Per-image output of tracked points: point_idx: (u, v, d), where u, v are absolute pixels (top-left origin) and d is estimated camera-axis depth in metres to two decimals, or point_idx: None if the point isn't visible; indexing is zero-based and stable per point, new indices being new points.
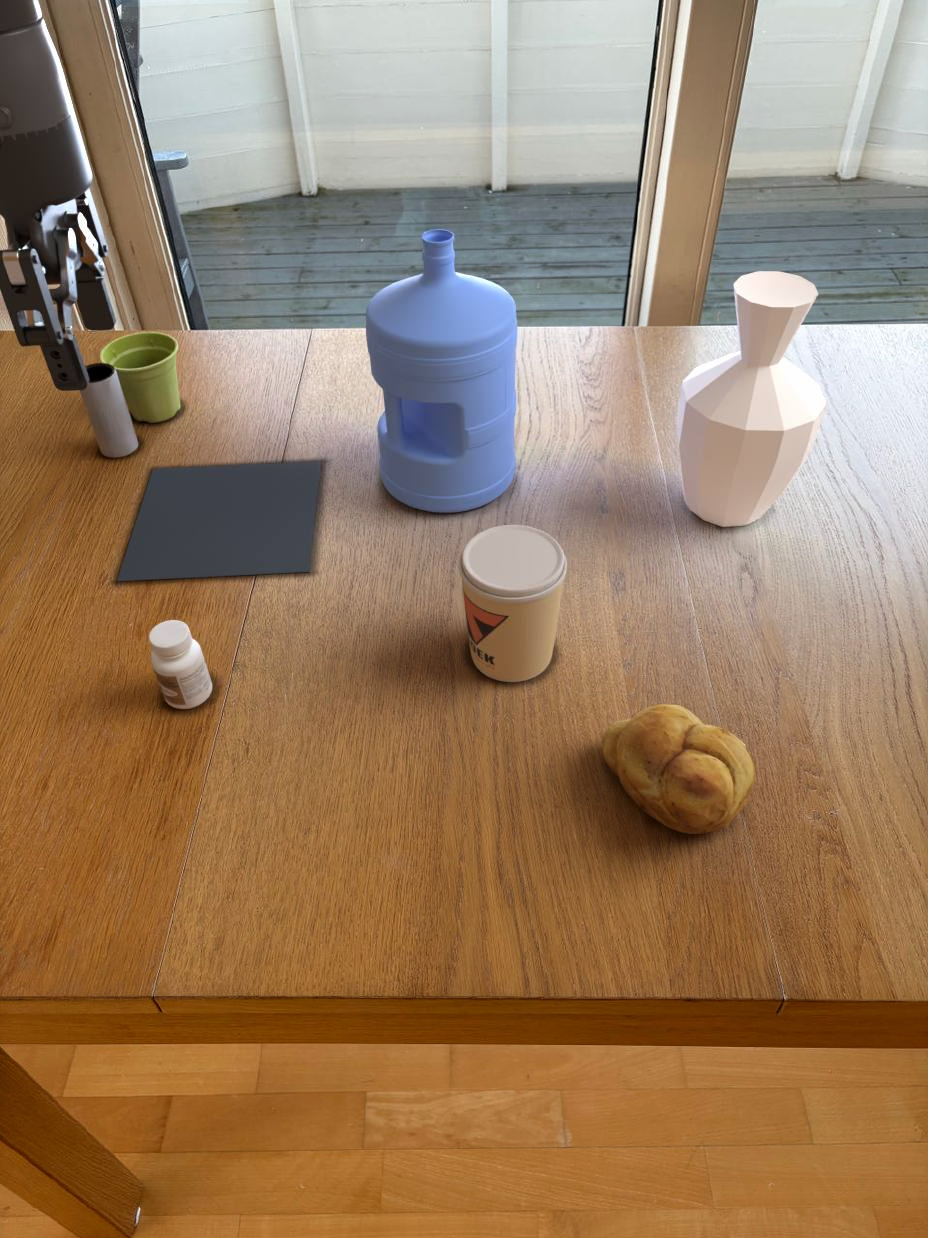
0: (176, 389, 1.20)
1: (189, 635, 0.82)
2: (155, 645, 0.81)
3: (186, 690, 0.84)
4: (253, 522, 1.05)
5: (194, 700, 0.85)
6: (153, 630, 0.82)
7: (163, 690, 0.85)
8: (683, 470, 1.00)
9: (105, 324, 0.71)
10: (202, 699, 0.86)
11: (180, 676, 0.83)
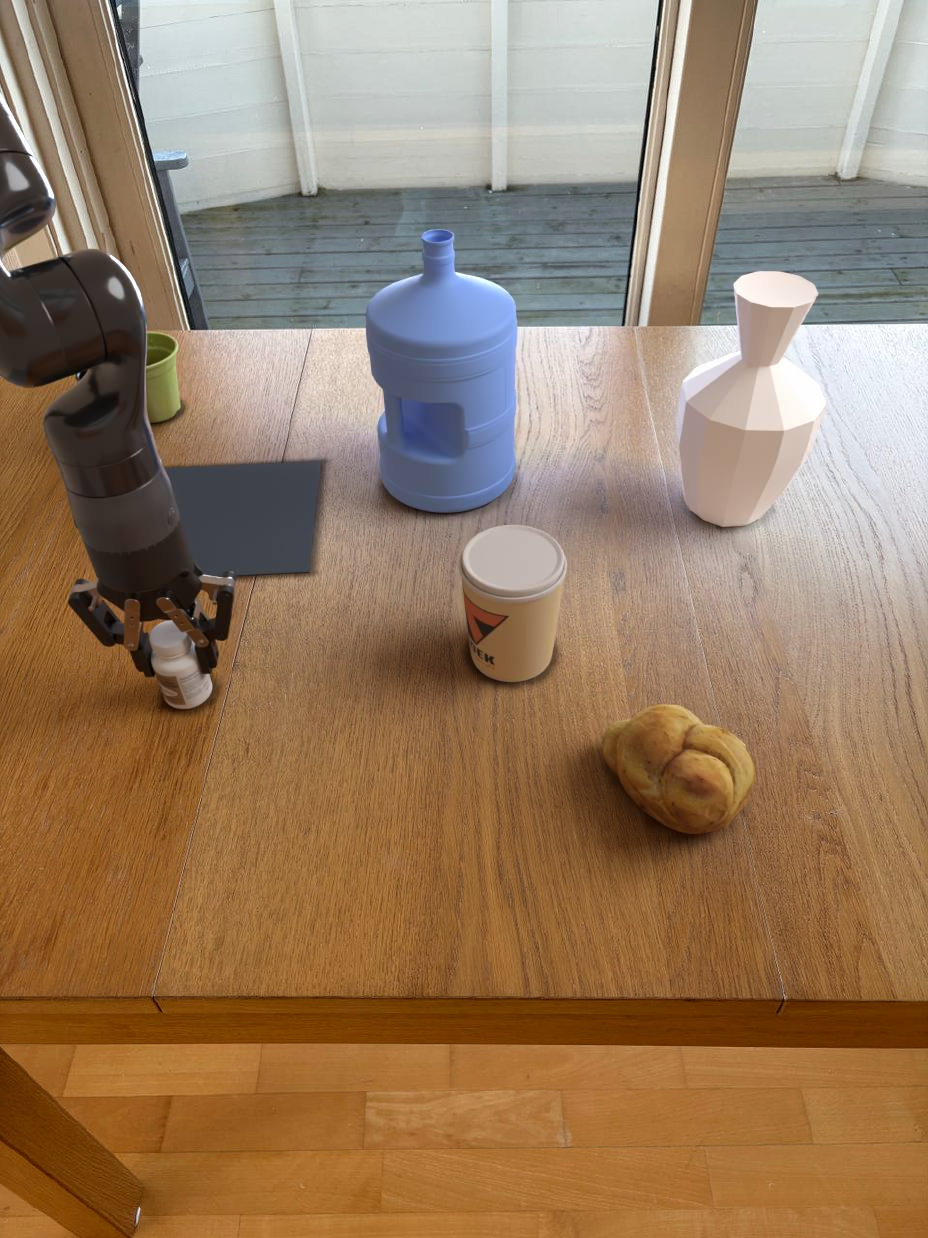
0: (176, 389, 1.20)
1: None
2: (155, 645, 0.81)
3: (186, 690, 0.84)
4: (253, 522, 1.05)
5: (194, 700, 0.85)
6: (153, 630, 0.82)
7: (163, 690, 0.85)
8: (683, 470, 1.00)
9: None
10: (202, 699, 0.86)
11: (180, 676, 0.83)
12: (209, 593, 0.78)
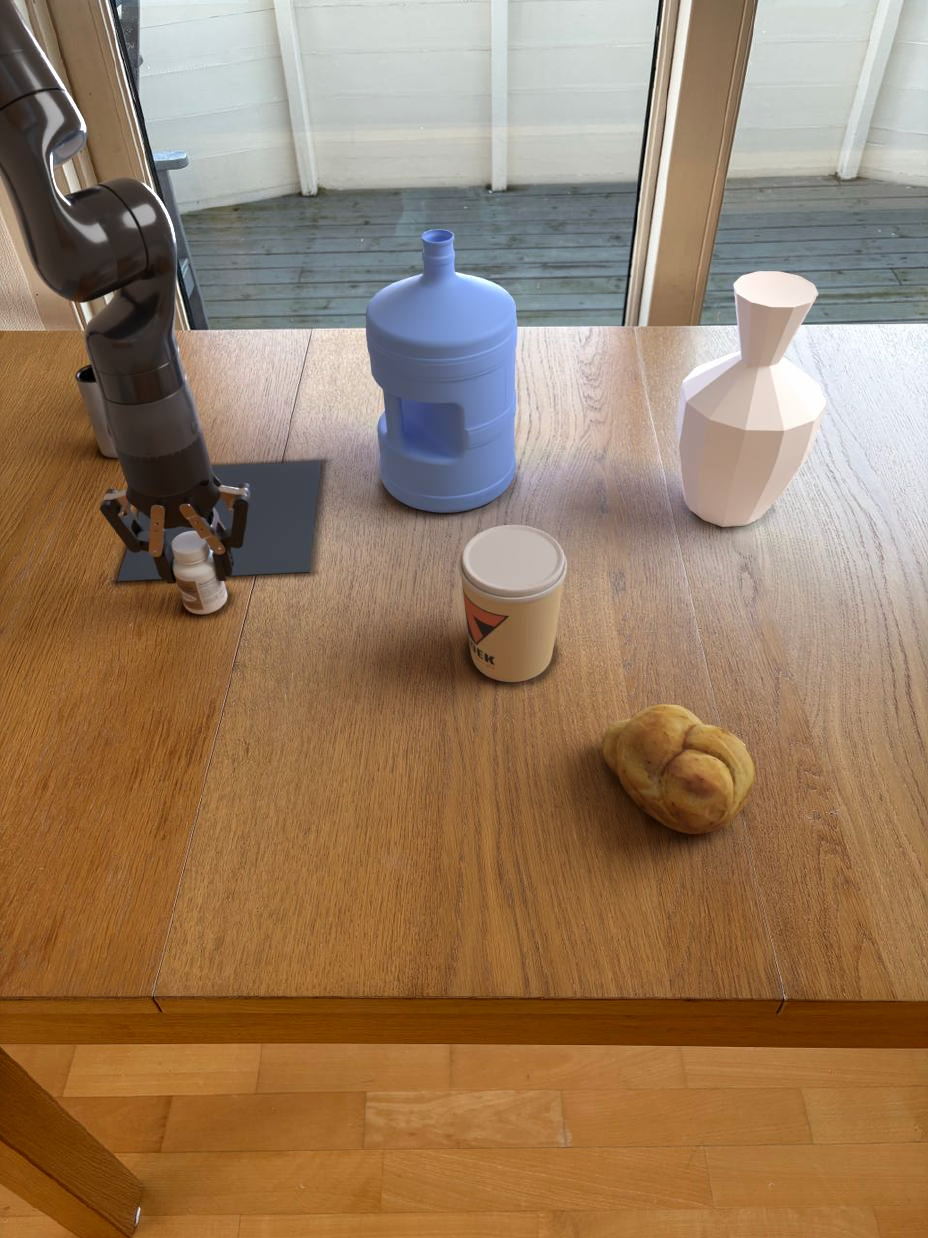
0: None
1: (207, 544, 0.91)
2: (177, 552, 0.90)
3: (204, 596, 0.93)
4: (253, 522, 1.05)
5: (211, 606, 0.94)
6: (175, 539, 0.91)
7: (183, 596, 0.93)
8: (683, 470, 1.00)
9: None
10: (218, 605, 0.94)
11: (199, 582, 0.91)
12: (226, 502, 0.87)
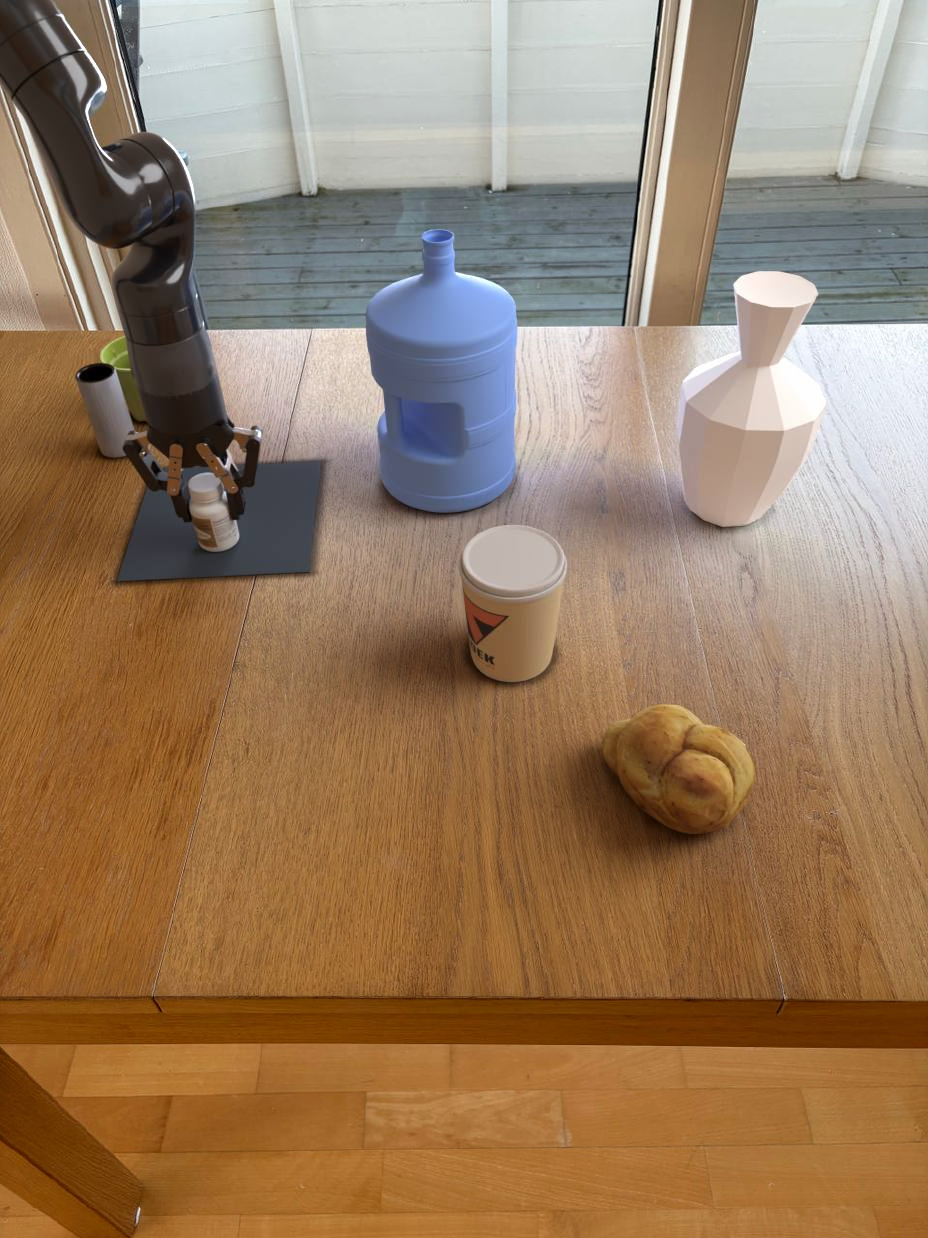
0: None
1: (221, 484, 0.98)
2: (193, 490, 0.96)
3: (218, 533, 0.99)
4: (253, 522, 1.05)
5: (224, 544, 1.01)
6: (191, 479, 0.98)
7: (198, 534, 1.00)
8: (683, 470, 1.00)
9: None
10: (231, 543, 1.01)
11: (213, 519, 0.98)
12: (240, 443, 0.94)
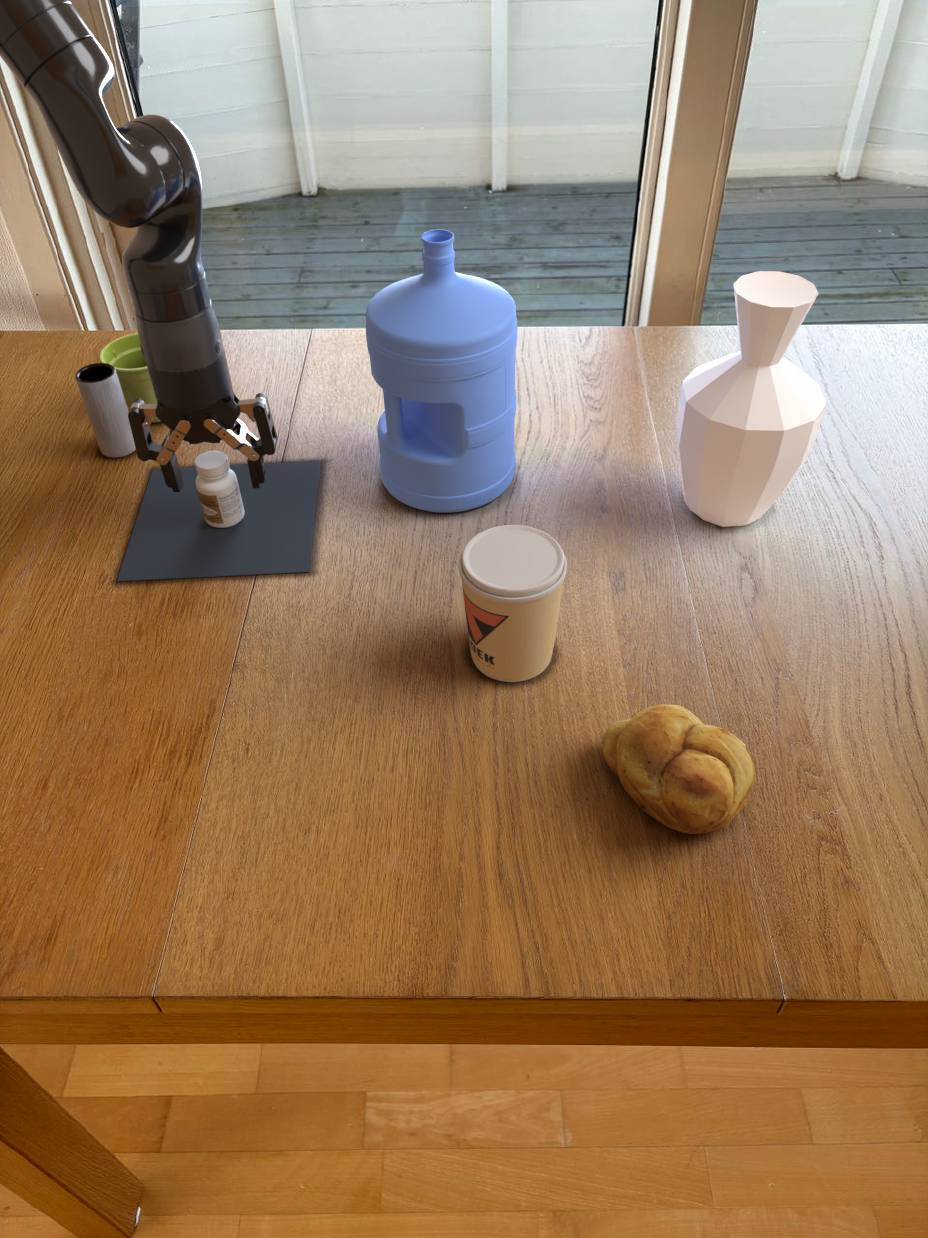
0: None
1: (227, 461, 1.01)
2: (200, 467, 0.99)
3: (224, 509, 1.02)
4: (253, 522, 1.05)
5: (230, 520, 1.04)
6: (198, 457, 1.01)
7: (205, 510, 1.03)
8: (683, 470, 1.00)
9: None
10: (236, 520, 1.04)
11: (220, 496, 1.01)
12: (248, 414, 0.96)
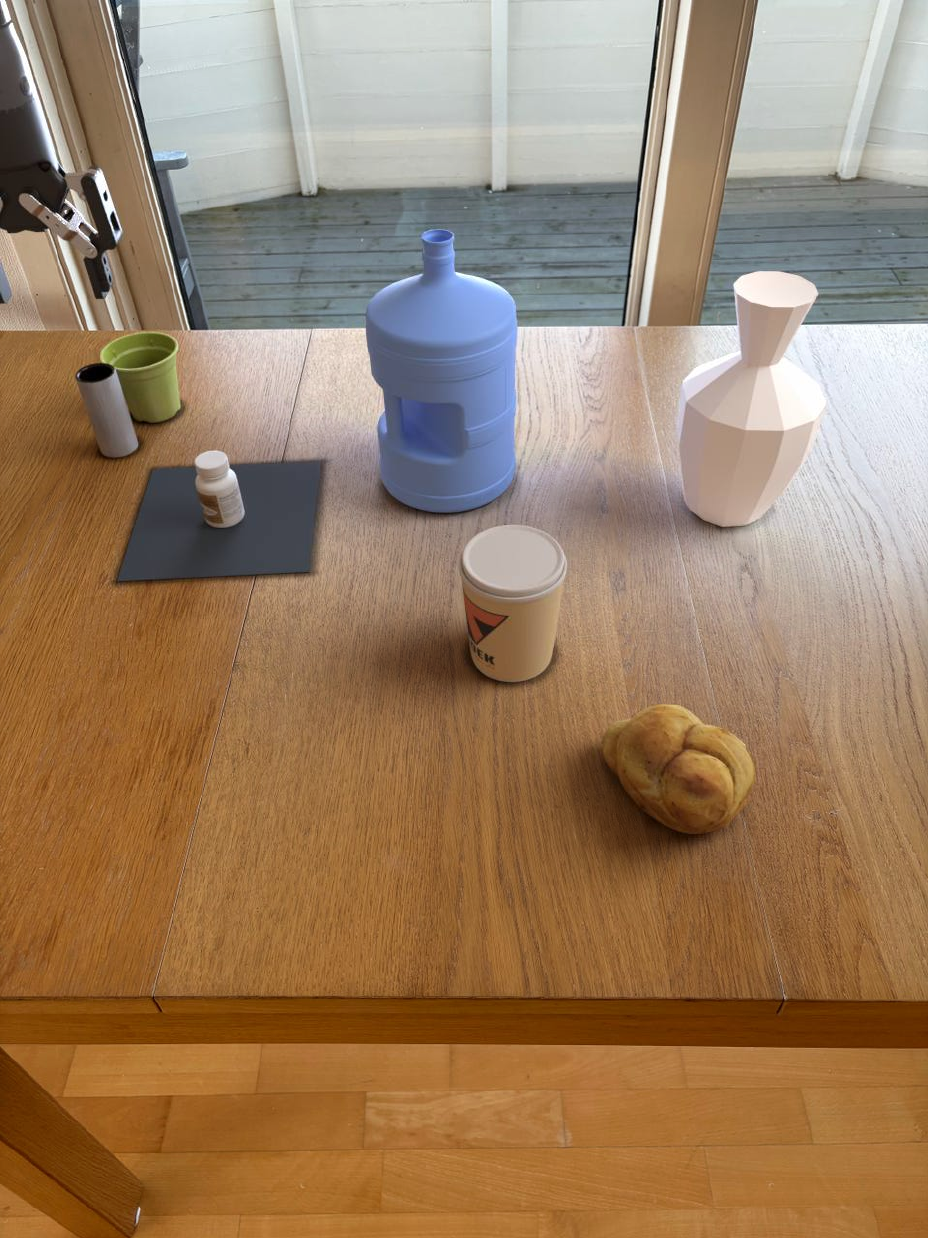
0: (176, 389, 1.20)
1: (227, 461, 1.01)
2: (200, 467, 0.99)
3: (224, 509, 1.02)
4: (253, 522, 1.05)
5: (230, 520, 1.04)
6: (198, 457, 1.01)
7: (205, 510, 1.03)
8: (683, 470, 1.00)
9: None
10: (236, 520, 1.04)
11: (219, 496, 1.01)
12: (77, 191, 0.77)
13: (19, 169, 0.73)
